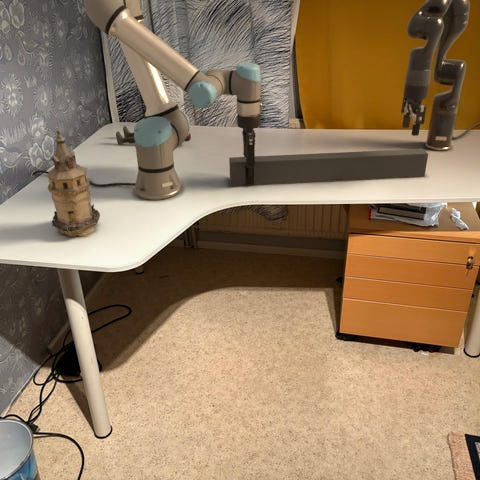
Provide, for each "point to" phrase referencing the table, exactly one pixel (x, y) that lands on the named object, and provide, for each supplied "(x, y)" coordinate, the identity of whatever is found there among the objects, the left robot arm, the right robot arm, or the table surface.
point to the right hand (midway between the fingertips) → (410, 131)
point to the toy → (130, 137)
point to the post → (331, 167)
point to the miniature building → (70, 193)
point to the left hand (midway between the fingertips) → (249, 180)
